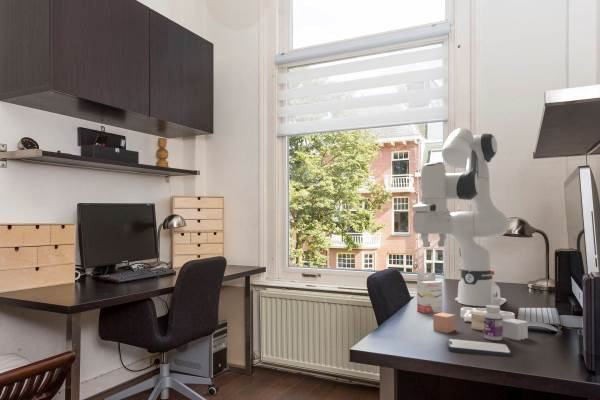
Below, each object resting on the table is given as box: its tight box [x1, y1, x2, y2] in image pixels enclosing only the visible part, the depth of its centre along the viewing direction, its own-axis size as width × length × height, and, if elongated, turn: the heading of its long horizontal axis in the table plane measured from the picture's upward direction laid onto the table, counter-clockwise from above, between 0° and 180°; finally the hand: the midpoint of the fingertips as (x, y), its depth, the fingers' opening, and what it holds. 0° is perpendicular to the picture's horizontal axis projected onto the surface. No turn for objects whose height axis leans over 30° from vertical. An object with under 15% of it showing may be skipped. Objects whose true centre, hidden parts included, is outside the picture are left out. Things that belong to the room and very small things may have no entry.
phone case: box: [447, 338, 513, 357], centre depth 121 cm, size 9×2×16 cm
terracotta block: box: [432, 311, 456, 334], centre depth 142 cm, size 5×5×5 cm
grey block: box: [503, 318, 529, 341], centre depth 133 cm, size 5×5×5 cm
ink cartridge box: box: [416, 272, 443, 314], centre depth 169 cm, size 9×5×15 cm, turn 108°
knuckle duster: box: [460, 306, 516, 323], centre depth 155 cm, size 3×18×15 cm
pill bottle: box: [483, 305, 504, 341], centre depth 132 cm, size 5×5×10 cm
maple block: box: [470, 311, 485, 331], centre depth 144 cm, size 5×5×5 cm
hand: (434, 246), depth 153 cm, fingers open, 8 cm apart
